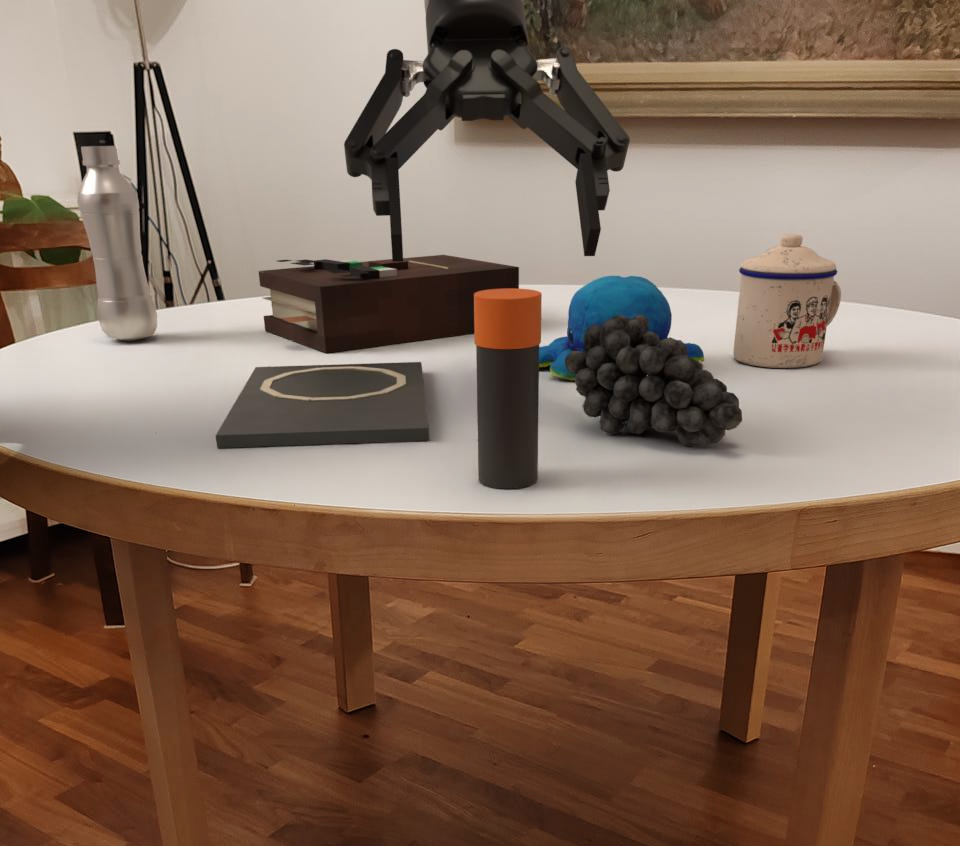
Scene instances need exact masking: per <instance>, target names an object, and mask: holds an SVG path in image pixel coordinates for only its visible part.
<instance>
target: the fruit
mask: <svg viewBox="0 0 960 846" xmlns="http://www.w3.org/2000/svg"><path fill="white" fill-rule="evenodd" d="M648 328H649V323H648V318H647V317H645V316H644V315H634V317H633V318H632V319H629V318H627V317H626V316H624V315H622V314H620V315H617V316H614V317H612V318H611V319H608V320H607V321H605V322H604V323H603V326H602V327H601V326H600V325H591V326H590V327H589V328H588V329H587V330H586V331H585V333H584V336H583V338H584V351H585V352H583V351H571V352H570V353H569V354H568V355H567V356H566V358H565V366H566V369H567V370H568V372H569V373H571V374H577V375H576V377H575V379H574V380H573V381H574V384H575V386H576V387H575V391H576V392H577V393H578V394H579V395H580V396H582V397H583V398H585V399H584V402H583V406H582V409H583V412H584V413H585V415H586V416H587V417H589V418H599V421H598V423H599V427H600V429H601V431H602V432H604V433H605V434H608V435H615V434H619V433H620V432H621V431H622V430H623V429H624V423H625V422H627V423H626V427H627V430H628V431H629V432H630V433H632V434H636V435H637V434H638V435H639V434H642V433H643V432H645V430H647V428H650V429H654V430H655V431H656V432H659V433H669V432H676V435H677V438H678V441H679V442H680V443H681V444H682V445H683V446H685V447H693V446H695V445H697V444H698V442H699V441H700V439H701V440H702V442H703V443H705V444H707V445H712V444H713V445H714V444H718V443H719V442H720V441H722V440H723V439H724V438H725V435H726V431H731V430H734V429H736V428H737V427H738V426H739V425H741V423H742V422H743V411H742V409H741V408H740V400H739V398H738V396H737V395H736V394H735V393H734V392H729V391H728V387H727V384H725V383H724V382H723V381H721V380H719V379H718V378H714V376H713V374H712V372H711V371H709V370H707V369H703V365H702V364H701V361H699V362H698V361H696V360H694V359H692V358H689V357H688V356H687V351H688V350H687V347H686V345H685V344H684V343H685V342H684V341H683V340H681V339H675V338H673V337H671V336H668V337H667V338H666V339H662V340H661V341H660V340H659V336H658V335H657V334H656V333H654V332H646V331H647V329H648ZM645 332H646V333H645Z"/></svg>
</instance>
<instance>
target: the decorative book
mask: <svg viewBox="0 0 960 846" xmlns="http://www.w3.org/2000/svg"><path fill="white" fill-rule="evenodd" d="M277 262H279V263H285V262H290V265H291V264H292V265H297V266H298V267H288V268H287V267H286V268H277V269H265V270H258V279H259V287H261V288H265V289H267V290H268V289H269V293H270V296H265V297H262V299H263V300H267V301H270V302H271V312H272V314H269V315H263V323H264V331H265V332H267V333H270V334H273V335H276V336H279V337H281V338H284V339H287V340H289V341H292V342H295V343H297V344H300V345H302V346H305V347H308V348H311V349H313V350H316V351H319V352H321V353H324V354H330V353H338V352H344V351H345V352H346V351H352V350H359V349H368V348H373V347H381V346H389V345H396V344H404V343H410V342H418V341H426V340H433V339H440V338H441V339H442V338H448V337H456V336H463V335H470V334H471V335H472V334H474V293H476V292H479V291H483V290H490V289H507V288H513V289H520V267H519V266H515V265H509V264H503V263H496V262H490V261H484V260H477V259H472V258H466V257H460V256H454V255H449V254H448V255H447V254H437V255H425V256H414V257H403V262H393V261H392V258H389V259H388V258H387V259H377V260H367V261H357V260H353V259H342V260H333V259H325V258H324V259H317V260H315V259H314V260H313V259H298V260H295V261H294V262H293V260H292V259H279V260H277ZM299 266H300V267H299Z"/></svg>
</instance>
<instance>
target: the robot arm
mask: <svg viewBox="0 0 960 846" xmlns="http://www.w3.org/2000/svg"><path fill="white" fill-rule="evenodd" d="M423 1H424V3H423V4H424V11H425V31H426V44H427V45H426V47H427V55H426V56H425V57H424V60H423V61H421V60H409V59H408V60H407V59H404V53H403V51H402V50H400V49H398V48H392V49H390V50H388V51H387V52H386V59H385V71H384V74H383V75H382V77H381V79H379V82H378V84H377V86H376V87H375V89H374V90H373V92H372V94H371V96H370V98H369V99H368V101H367V102H366V104H365V106H364V108H363V109H362V111H361V113H360V115H359V116H358V118H357V120H356V121H355V123H354V124H353V127H352V128H351V130H350V132H349V134H348V135H347V137H346V138H345V141H344V142H343V149H344V156H345V157H344V158H345V165H346V173H347V174H348V176H349V177H352V178H359V177H361V176H362V175H363V176H366V177H368V178H369V179H370V181H371V197H372V208H373V209H372V210H373V212H374V214H375V216H376V217H379V216H380V217H383V216H384V217H385V216H387V217H388V216H389V224H390V225H389V227H390V242H391V244H390V245H391V259H392V261H393V262H403V258H404V248H403V227H402V211H401V192H400V175H399V174H400V172H399V171H400V169H401V168H402V167H403V166H404V165H405V164H406V163H407V162H408V161H409V160H410V159H411V158H412V157H413V156H414V155H415V154H416V152H418V150H420V148H422V147H423V145H425V143H426V142H428V140H429V139H430V138H432V136H433V135H434V134H435V133H436V132H437V131H438V130H439V131H443V130H444V129H445V128H446V127H447V126H448V125H449V124H450V123H451V122H452V121H453V120H454V119H455V117H457V118H460V119H461V122H473V121H477V120H481V119H483V120H484V119H485V120H489V121H504V117H508V118H509V119H510V120H511V121H512V122H513V123H515V124H516V125H517V126H518V127H520V128H521V129H522V130H526V129H529V130H530V131H531V132H532V133H534V134H535V135H536V136H537V137H538V138H539V139H541V140H542V141H543V142H544V143H546V145H548V146H549V147H550V148H551V149H553V151H554V152H556V153H558V154H559V155H560V156H561V157H562V158H563V159H565V160H566V161H567V162H568V163H569V164H571V166H573V167H574V168H575V169H576V175H575V183H574V184H575V190H576V198H577V207H578V216H579V225H580V231H581V232H580V234H581V241H582V249H583V256H584V257H596V252H597V248H598V244H599V239H600V235H601V231H602V227H601V226H602V225H601V220H600V211H605V210H606V207H607V204H608V199H609V195H610V190H611V189H610V188H611V187H610V180H609V175H608V171H612V172H621V171H622V170H623V169H624V166H625V162H626V158H627V154H628V149H629V145H630V141H631V140H630V139H631V138H630V136H629V135H628V133H627V132H626V131H625V129H624V128H623V127H622V125H621V124H620V123H619V122H618V120H617V119H616V118H615V116H614V115H613V114H612V113H611V111H610V110H609V109H608V108H607V106H606V105H605V103H604V102H603V101H602V100H601V98H600V97H599V95H598V94H597V93H596V92H595V90H593V88H592V87H591V85H590V84H589V83H588V81H587V80H586V79H585V77H583V75H582V74H581V73H580V71H579V70H578V66H577V64H576V60H575V55H574V52H573V50H572V49H571V48H570V47H568V46H561V47H559V48H557V50H556V53H555V57H551V58H544V59H543V58H542V59H537V58H536V57H535V55H534V54H533V53H532V52H531V50H530V47H529V37H528V30H527V22H526V21H527V19H526V12H525V11H526V10H525V5H524V0H423ZM540 82H542V83H544V84H545V85H546V87H547V88H548V89H549V90H548V92H549V95H552V96H555V95H556V98H557V100H558V102H559V104H560V105H561V106H560V105H559V104H557V103H556V101H554V100H553V99H551V98H550V97H549V96H548V94H546V93H544V92H543V90H542V87H541V84H540ZM419 83H423V85H424V87H425V88H426V90H425V92H424V94H423V95H422V96H421V97H420V98H419V99H418V100H417V101H416V102H415V103H414V104H413V105H412V106H411V107H410V108H409V109H408V110H407V111H406V112H405V113H404V114H403V115H402V116H401V117H400V118H399V119H398V120H397V121H396V122H395V124H393V125H392V123H393V121H394V119H395V117H396V116H397V114H398V113H399V111H400V109H401V107H402V103H403V99H404V98H408V97H410V95H411V92H412V91H413V90H414V88H415V86H416V85H417V84H419ZM391 125H392V126H391ZM390 127H391V128H390Z"/></svg>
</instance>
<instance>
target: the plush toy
mask: <svg viewBox="0 0 960 846" xmlns="http://www.w3.org/2000/svg"><path fill="white" fill-rule="evenodd" d="M620 314H622V315H624V316H626V317H627V318H629V319H632V318H633V317H634V315H644V316H645V317H647V318H648V323H649V328H648V329H647V331H646V332H654V333H656V334H657V335H658V336H659V340H660V341H661V340H662V339H666V338H669V335H670V331H671V329H672V328H671V327H672V318H673V317H672V310H671V306H670V303H669V301H668V300H667V298H666V296H665V295H664V294H663V292H662V291H661V290H660V289H659V288H658V286H657V285H656V284H654V283H653V282H652V281H650V280H649V279H647V278H645V277H642V276H637V275H628V276H621V275H608V276H607V275H606V276H601V277H598V278H596V279H593V280H592V281H590V282H588V283H586V284H585V285H583V286H582V287H581V288H579V289H578V290H576V292H574V294H573V296H572V297H571V300H570V303H569V306H568V314H567V315H568V317H567V318H568V320H567V327H566V328H567V329H566V336H561V337H558V338H555V339H553V341H551V342H550V343H549V344H548V345H542V346H539V368H547V367H549V373H550V375H551V376H553V377H558V378H559V379H564V380H567V381H574V379H575V377H576V375H577V374H571V373H569V372H568V370H567V369H566V366H565V358H566V356H567V355H568V354H569V353H570V352H571V351H583V352H585V351H584V338H583V336H584V333H585V331H586V330H587V329H588V328H589V327H590V326H591V325H600V326H601V327H602V326H603V323H604V322H605V321H607V320H608V319H611V318H612V317H614V316H617V315H620ZM646 332H645V333H646ZM683 343H684V344H685V345H686V347H687V350H688V351H687V356H688V357H689V358H692V359H694V360H696V361H698V362H700V363H701V362H702V363H703V362H705V356H704V351H703V349H702V348H701V346H700V345H699V344H696V343H691V342H687V343H686V342H683Z"/></svg>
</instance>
